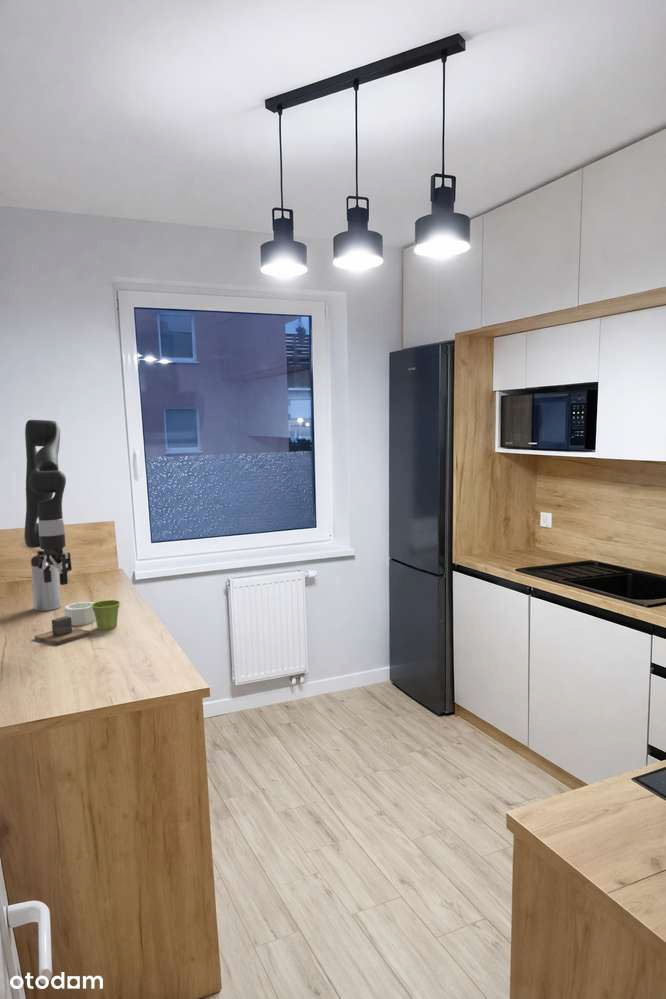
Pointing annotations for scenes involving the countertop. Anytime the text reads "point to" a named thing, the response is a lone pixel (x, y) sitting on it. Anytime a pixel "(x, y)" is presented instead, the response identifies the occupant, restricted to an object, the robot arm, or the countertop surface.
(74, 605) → the bowl
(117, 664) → the countertop surface
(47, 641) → the lid
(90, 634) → the mat
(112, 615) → the plant pot
